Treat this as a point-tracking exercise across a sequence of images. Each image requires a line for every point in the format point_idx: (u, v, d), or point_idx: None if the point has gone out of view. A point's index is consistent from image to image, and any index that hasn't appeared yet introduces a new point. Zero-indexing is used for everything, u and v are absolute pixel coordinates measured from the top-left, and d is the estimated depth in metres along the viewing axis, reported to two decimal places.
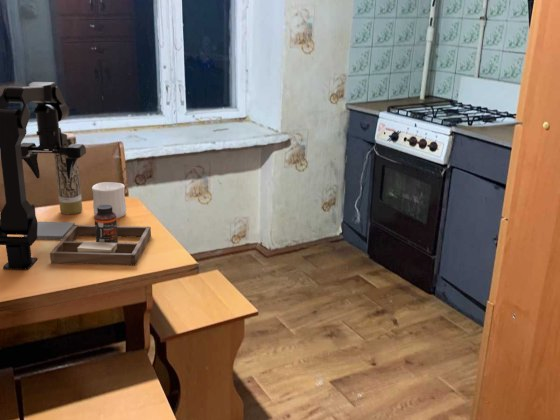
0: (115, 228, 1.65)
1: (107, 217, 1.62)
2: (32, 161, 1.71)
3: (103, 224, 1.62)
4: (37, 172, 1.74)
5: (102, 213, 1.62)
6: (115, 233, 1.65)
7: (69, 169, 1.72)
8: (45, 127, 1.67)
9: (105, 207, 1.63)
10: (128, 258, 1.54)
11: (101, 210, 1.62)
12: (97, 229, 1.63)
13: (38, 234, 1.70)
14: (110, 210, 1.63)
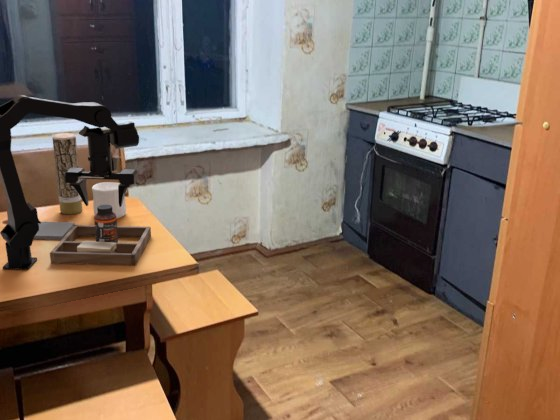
0: (115, 227, 1.65)
1: (107, 217, 1.62)
2: (81, 187, 1.59)
3: (103, 224, 1.62)
4: (86, 199, 1.62)
5: (102, 213, 1.62)
6: (115, 233, 1.65)
7: (121, 196, 1.61)
8: (89, 151, 1.56)
9: (105, 207, 1.63)
10: (128, 258, 1.54)
11: (101, 210, 1.62)
12: (97, 229, 1.63)
13: (38, 234, 1.70)
14: (110, 210, 1.63)
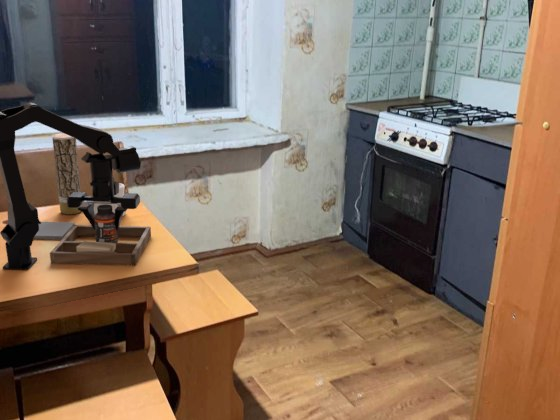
0: (115, 227, 1.65)
1: (107, 217, 1.62)
2: (89, 212, 1.62)
3: (103, 224, 1.62)
4: (94, 223, 1.65)
5: (102, 213, 1.62)
6: (115, 233, 1.65)
7: (118, 220, 1.63)
8: (92, 176, 1.58)
9: (105, 207, 1.63)
10: (128, 258, 1.54)
11: (101, 210, 1.62)
12: (97, 229, 1.63)
13: (38, 234, 1.70)
14: (110, 210, 1.63)
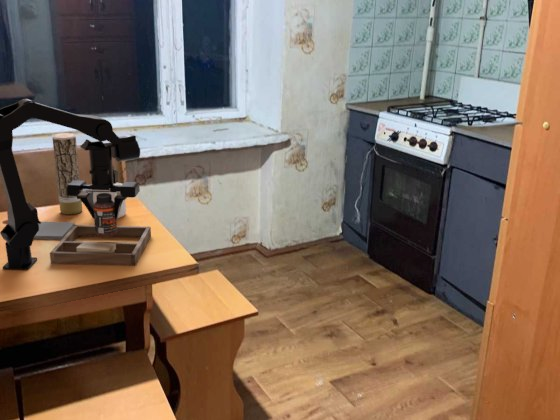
0: (114, 216, 1.64)
1: (107, 205, 1.61)
2: (88, 200, 1.61)
3: (102, 212, 1.61)
4: (93, 212, 1.64)
5: (101, 201, 1.61)
6: (114, 222, 1.64)
7: (117, 209, 1.62)
8: (91, 164, 1.57)
9: (104, 196, 1.62)
10: (128, 258, 1.54)
11: (100, 198, 1.61)
12: (96, 218, 1.62)
13: (38, 234, 1.70)
14: (109, 199, 1.62)
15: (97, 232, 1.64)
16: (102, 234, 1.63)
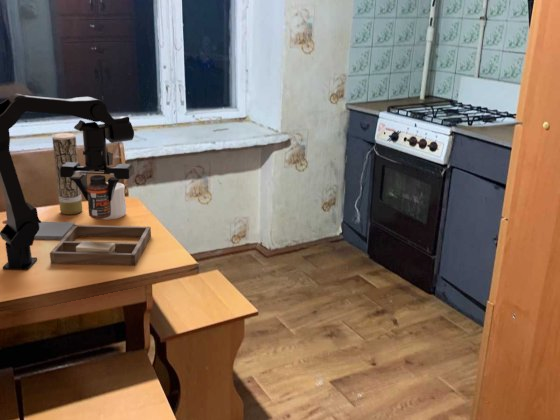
0: (108, 199, 1.63)
1: (100, 187, 1.60)
2: (82, 182, 1.60)
3: (96, 194, 1.60)
4: (87, 194, 1.62)
5: (95, 183, 1.60)
6: (108, 204, 1.63)
7: (111, 191, 1.61)
8: (85, 145, 1.56)
9: (98, 178, 1.60)
10: (128, 258, 1.54)
11: (94, 180, 1.60)
12: (90, 200, 1.61)
13: (38, 234, 1.70)
14: (103, 180, 1.61)
15: (91, 214, 1.62)
16: (96, 216, 1.62)
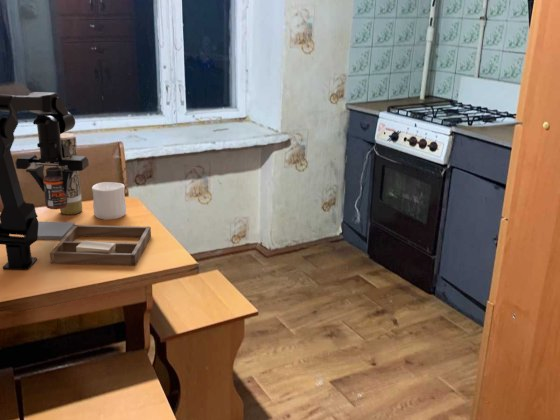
0: (64, 190, 1.68)
1: (55, 179, 1.66)
2: (37, 173, 1.65)
3: (51, 185, 1.65)
4: (43, 185, 1.68)
5: (50, 175, 1.65)
6: (64, 195, 1.68)
7: (66, 182, 1.66)
8: (45, 139, 1.61)
9: (54, 169, 1.66)
10: (128, 258, 1.54)
11: (49, 172, 1.65)
12: (46, 191, 1.67)
13: (38, 234, 1.70)
14: (58, 172, 1.66)
15: (47, 205, 1.68)
16: (52, 207, 1.68)
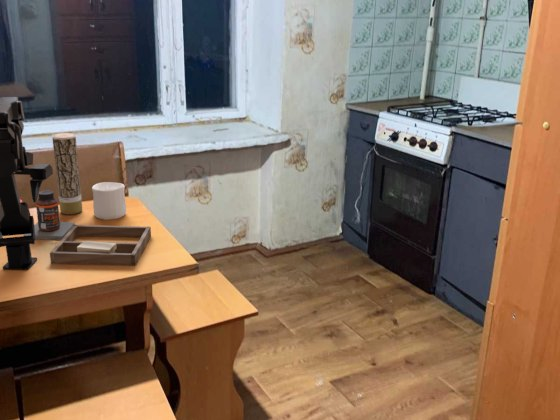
0: (56, 212, 1.72)
1: (48, 202, 1.69)
2: None
3: (44, 209, 1.69)
4: None
5: (43, 198, 1.69)
6: (56, 218, 1.72)
7: (34, 192, 1.58)
8: None
9: (46, 193, 1.70)
10: (128, 258, 1.54)
11: (42, 195, 1.69)
12: (38, 214, 1.70)
13: (38, 234, 1.70)
14: (51, 196, 1.70)
15: (40, 227, 1.72)
16: (44, 229, 1.71)
